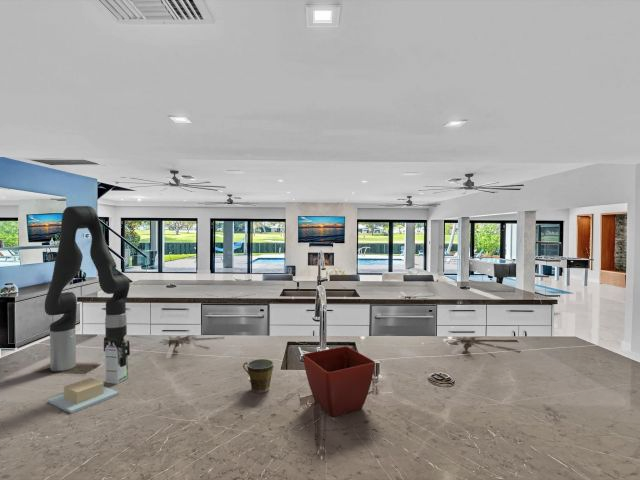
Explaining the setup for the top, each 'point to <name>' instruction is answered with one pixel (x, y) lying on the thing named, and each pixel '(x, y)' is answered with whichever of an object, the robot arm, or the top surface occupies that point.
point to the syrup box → (115, 366)
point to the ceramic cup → (259, 374)
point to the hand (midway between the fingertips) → (116, 364)
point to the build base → (83, 404)
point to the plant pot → (339, 379)
